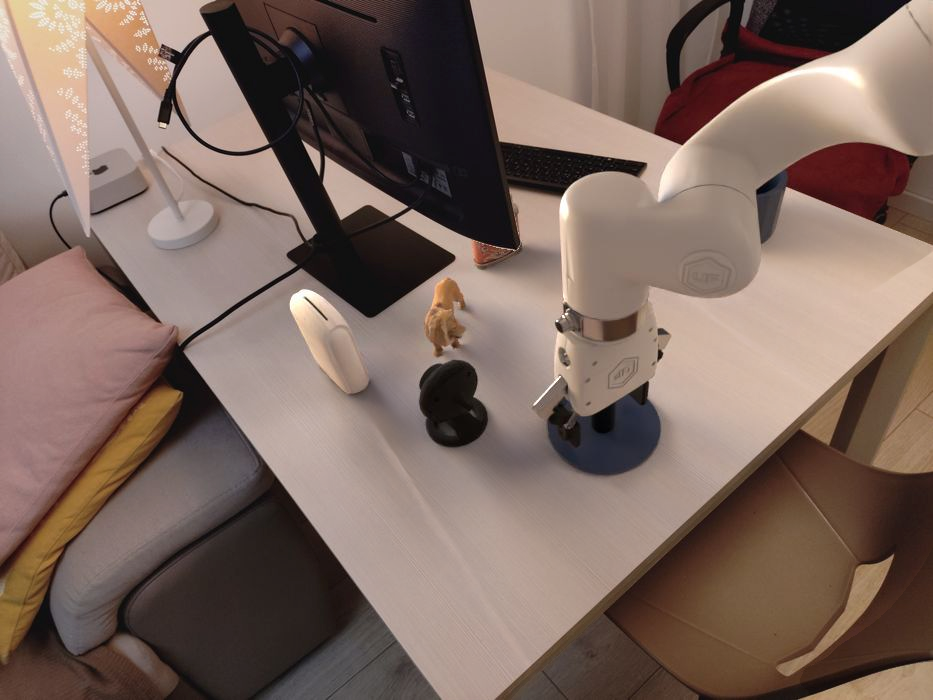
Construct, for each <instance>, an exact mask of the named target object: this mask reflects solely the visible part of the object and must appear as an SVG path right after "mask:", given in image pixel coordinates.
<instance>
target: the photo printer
mask: <svg viewBox="0 0 933 700" xmlns="http://www.w3.org/2000/svg"><path fill="white" fill-rule="evenodd" d="M289 301H290V302H289V309H290V312H291V314H292V317H293V318H294V321H295V322H296V325H297V326H298V328H299V330H300V333H301V335H302V336H303V338H304V340H305V343H306V344H307V347H308V348H309V351H310V352H311V355H312V357H313V359H314V360H315V362H316V363H317V364H318V365H319V366H320V368H321V369H322V370H323V372H324V373H325V374H326V375H327V376H328V377H329V378H330V379H331V380H332V381H333V382H334V383H335V384H336V385H337V386H338V388H340V389H341V390H342V391H343V392H344V393H346V394H347V395H350V394H353V395H354V394H358V393H360V392H362V391H364V389H366V388H367V386H368V385H369V381H371V376H370V373H369V371H368V369H367V366H366V364H365V361H364V359H363V356H362V354H361V352H360V349H359V347H358V345H357V343H356V340H355V337H354V335H353V332H352V330H351V328H350V325H349V324H348V322H347V320H346V319H345V318H344V317H343V315H341V313H340V312H339V311H338V310H337V309H336V308H335V307H334V306H333V305H332V304H331V303H330V302H329V301H328V300H327V299H325V298H324V296H322V295H320V294H318V293H317V292H315V291H312V290H309V289H301V290H300V291H299V292H296V293H294V294H292V296H291V298H290V300H289Z"/></svg>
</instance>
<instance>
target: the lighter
mask: <svg viewBox="0 0 933 700" xmlns="http://www.w3.org/2000/svg"><path fill="white" fill-rule="evenodd" d="M510 194H511V200H512V205H513V210H514V214H515V218H516V223H517V228H518V232H519V236H520V237H521V232H520V222H519V212H520V211H519V206H518V205H517V204H516V203H515V202H513V195H512V193H510ZM471 246H472V251H473V256H474V258H473V263H474V267H475V268H476V269H478V270H482V271H483V270H487V269H490V268H493V267H496V266H498V265H501V264H503V263H505V262H507V261H509V260H511V259H512V258H514V257H516V256H517V255H519V254H520V253H521V252H522V251H523V242H522V241H521V245H520V247H519V249H518V250H516V251H513V250H507V249H501V248H496V247H493V246H489V245H486V244H482V243H479V242H476V241H473V240H471Z"/></svg>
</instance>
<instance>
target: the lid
mask: <svg viewBox="0 0 933 700" xmlns="http://www.w3.org/2000/svg"><path fill="white" fill-rule="evenodd" d="M564 407H565V408H566V409H567V410H568V411H569V412H570V411H571V410H572V408H573V407H572V405H571V403H570V402H569V401H567V403H566V405H565V406H564ZM577 422H578V423H579V424H580V431H581V444H580V446H579V447H577V448H575V447H574V446H573V445H572V444H571V443H570V442H569V441H568V440H567V441H566V442H565V441H564V440H563V439H562V438H561V437H560V436H559V434H558V432H557V425H552V424H550V423H549V422H548V421H546V432H547V436H548V440H549V443H550V445H551V446H552V448H553V450H554V451H555V453H556V454H557V455H558V456H559V457H560V458H561V459H562V460H563V461H564V462H566V463H567V464H568V465H570V466H572V467H574V468H576V469H578V470H580V471H583V472H587V473H590V474H595V475H603V476H604V475H606V476H607V475H616V474H623V473H626V472H629V471H631V470H634V469H636V468H638V467H639V466H642V465H643V464H644V463H645V462H646V461H647V460H649V459H650V458H651V457H652V455H653V454H654V453H655V451H656V449H657V448H658V446H659V443H660V441H661V433H662V423H661V417H660V415H659V412H658V411H657V409H656V407H655V406H654V404H653V403H652V402H651V400H650V399H649V398H648V399H647V403H646V404H645V405H643V406H642V405H639V404H638V403H637V402H636V401H635V400H634V399H633V398H632V397H631V396H630V395H628V394H627V395H625V396H623V397H622V398H620V399H619V400H617V401H615V402H614V403H612V404H610V405H609V406H607V407H606V408H604V409H602V410H600V411H599V412H597V413H595V414H593V415H590V416H580V417H579V418H578V420H577Z"/></svg>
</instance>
